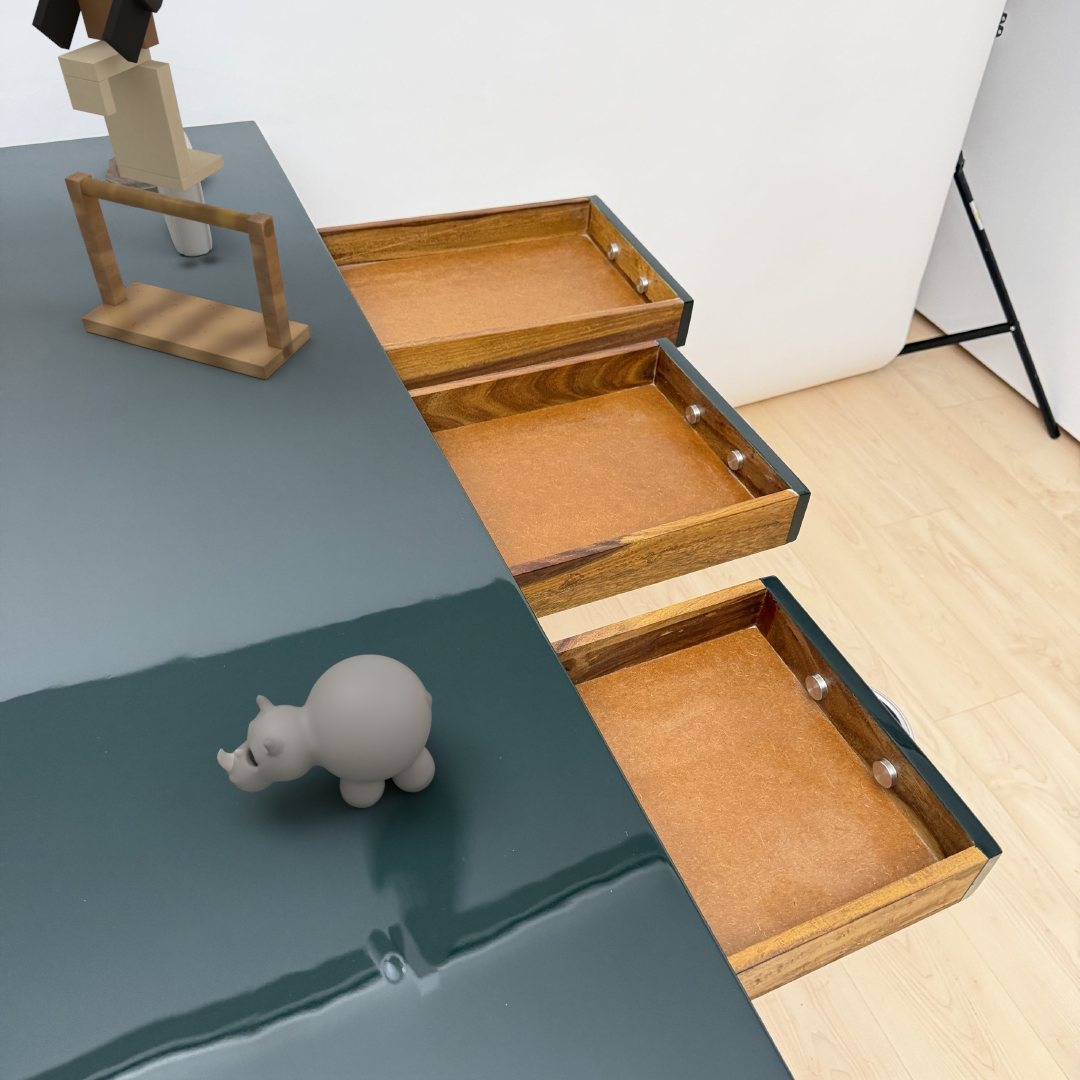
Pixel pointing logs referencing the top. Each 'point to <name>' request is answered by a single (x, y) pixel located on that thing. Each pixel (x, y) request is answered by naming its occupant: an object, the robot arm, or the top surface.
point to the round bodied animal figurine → (343, 733)
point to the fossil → (115, 177)
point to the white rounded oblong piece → (188, 222)
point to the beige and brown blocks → (134, 106)
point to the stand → (180, 317)
